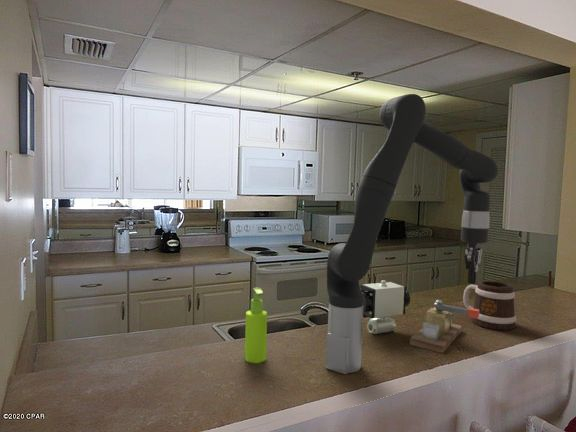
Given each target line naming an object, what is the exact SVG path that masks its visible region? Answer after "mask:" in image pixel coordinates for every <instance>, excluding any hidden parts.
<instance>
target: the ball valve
mask: <svg viewBox="0 0 576 432" xmlns="http://www.w3.org/2000/svg"><path fill="white" fill-rule="evenodd" d="M359 286H360V289H361V291H362V293H363V296H364V302H363V316H366V317H368V318H369V321H367V324H366V328H367V331H368V332H369V333H371V334H375V335H377V334H382V333H390V332H392V331H395V329H396V327H397V324H396V321H395V319H393V318H392V317H393V316H394V317H395V316H402V315H406V310H407V307H408V306H409V305H410V303H411V295H410V292H409V290H408V289H407V286H406V285H403V284H399V283H397V282H395V281H389V282H388V281H387V280H385V279H383V280H381V281H380V282H376V283H366V284H364V283H363V284H359Z"/></svg>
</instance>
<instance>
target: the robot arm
mask: <svg viewBox="0 0 576 432" xmlns="http://www.w3.org/2000/svg"><path fill="white" fill-rule="evenodd" d="M426 110H427V106H426V103H425V101H424V99H423V98H422V97H421V96H420V95H419V94H416V93H409V94H407V93H406V94H404V95H399V96H396V97H393V98H389V99H388V100H386V101H385V102H384V103H383V104H382V105H381V107H380V109H379V120H380V123H381V124H382V125H383V127H384V128H385V129H387V131H389V132H388V135H387V137H386V140H385V142H384V143H383V145H382V147H381V148H380V149H379V150H378V152H377V153H376V154H375V155H374V157H373V158H372V159H371V160H370V161H369V163H368V165H367V167H366V168H365V169H364V172H363V173H362V177H361V179H360V181H359V184H358V187H357V190H356V192H355V193H356V194H355V199H354V200H355V201H354V214H353V215H354V216H353V218H354V219H353V224H352V228H351V230H350V233H349V235H348V238H347V241H346V242H339V243H337V244H335V245H334V246H333V247H331V249H330V250H329V253H328V255H327V261H326V289H327V290H326V291H327V294H328V313H327V314H328V317H327V333H326V341H325V343H326V346H325V369H328V370H330V371H333V372H337V373H340V374H343V375H347V374H350V373H351V374H352V373H356V372H358V371H360V370H361V365H362V346H363V345H362V344H363V342H362V341H363V323H364V322H363V319H364V314H363V302H364V296H363V293H362V291H361V289H360V280H362V279H363V278H364V277H365V276H366V274H368V271H369V270H370V267H371V263H372V260H373V256H374V252H375V248H376V244H377V240H378V236H379V232H380V231H381V228H382V225H383V222H384V220H385V217H386V215H387V211H388V208H389V207H390V204H391V201H392V199H393V197H394V193H395V191H396V188H397V185H398V182H399V179H400V176H401V173H402V171H403V168H404V167H405V163H406V161H407V158H408V155H409V152H410V151H411V148H412V146H413V144H414V143H415V144H416V145H419V146H420V147H422V148H423V149H425V150H427V151H428V152H429V153H431V154H432V155H434V156H436V157H438V158H439V159H440V160H441V161H443V162H444V163H445V164H446V165H448V166H450V167H451V168H453V169H455V170H459V180H460V186H461V190H462V193H463V206H462V207H463V210H462V211H463V212H462V216H461V226H460V227H461V228H460V230H461V231H460V241H461V242H464V243H467V246H466V248H465V252H464V253H465V254H464V255H463V257H464V262H465V270H466V271H467V284H469V285H471V284H472V285H476V284H477V281H478V280H477V278H478V271H479V269H480V265H481V259H482V254H483V248H481V244H487V243H488V242H489V237H490V236H489V235H490V207H491V206H490V205H491V204H490V203H491V196H490V193H488V192H487V191H485V190H482V188H481V185H480V183H481V184H482V183H483V184H484V183H486V184H487V183H490V182H492V181H494V180H495V179H496V178H497V177H498V174H499V167H498V165H497V163H496V161H495V160H493V159H492V158H491V157H490V156H488V155H486V154H485V153H482V152H480V151H478V150H474V149H473V148H470V147H469V146H467V145H466V144H465V143H464V142H462V141H461V140H459V139H458V138H457V137H455V136H453V135H452V134H449V133H447V132H445V131H443V130H440V129H438V128H436V127H433V126H431V125H428V124H427V123H426V122H424V120H425V118H426V112H427V111H426Z"/></svg>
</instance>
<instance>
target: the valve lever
mask: <svg viewBox="0 0 576 432" xmlns="http://www.w3.org/2000/svg"><path fill="white" fill-rule="evenodd" d="M433 306H434V307H433V308H434V310H435V311H439V312H442V311H447V312H450V313H452V314H459V315H465V316H466V317H467V318H470V319H471V318H475V319H478V318H479V309H474V308H468V309H467V308H463V307H459V306H453V305H448V304H444V302H443V301H442V300H441V299H436V300H435V302H434V304H433Z"/></svg>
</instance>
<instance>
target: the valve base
mask: <svg viewBox="0 0 576 432" xmlns="http://www.w3.org/2000/svg"><path fill="white" fill-rule="evenodd" d="M462 330H463V326H462V325H460V324H456V323H455V324H454V323H452V324H451V327H449V332H448V333H447V334H446V335H445V336H440V337H439V338H438V341H433V340H429V339H425V338H422V332H423V327H422V328H421V329H420V330H418V331H417V332H415V333H414V334H413V335H412V336H411V337H410V338H409V346H413V347H418V348H420V349H421V348H422V349H425V350H430V351H434V352H438V353H442V354H444V352H445V351H446V350H447V349H448V348H449V346H450V345H451V344H452V343H453V342H454V341H455V340H456V338H457V337H458V336H459V335H460V334H461V333H462V332H463V331H462Z"/></svg>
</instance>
